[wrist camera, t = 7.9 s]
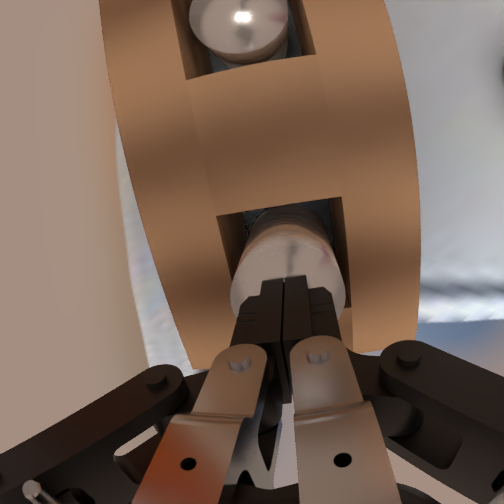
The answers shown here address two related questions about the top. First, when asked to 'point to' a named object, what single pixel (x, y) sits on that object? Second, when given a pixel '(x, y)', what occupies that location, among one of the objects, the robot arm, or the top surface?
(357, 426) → the robot arm
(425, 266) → the top surface
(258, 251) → the peg
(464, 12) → the top surface
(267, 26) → the peg
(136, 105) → the socket block
